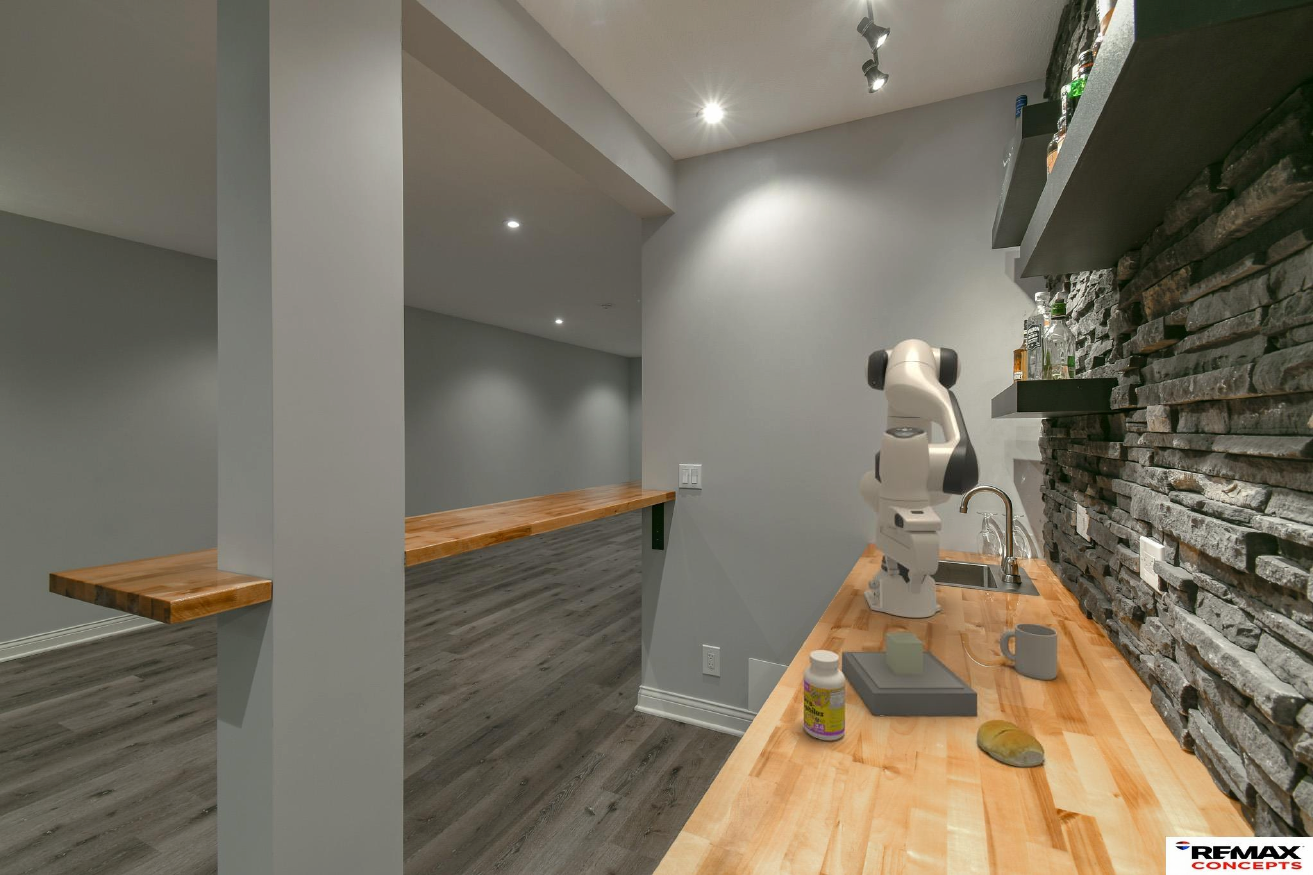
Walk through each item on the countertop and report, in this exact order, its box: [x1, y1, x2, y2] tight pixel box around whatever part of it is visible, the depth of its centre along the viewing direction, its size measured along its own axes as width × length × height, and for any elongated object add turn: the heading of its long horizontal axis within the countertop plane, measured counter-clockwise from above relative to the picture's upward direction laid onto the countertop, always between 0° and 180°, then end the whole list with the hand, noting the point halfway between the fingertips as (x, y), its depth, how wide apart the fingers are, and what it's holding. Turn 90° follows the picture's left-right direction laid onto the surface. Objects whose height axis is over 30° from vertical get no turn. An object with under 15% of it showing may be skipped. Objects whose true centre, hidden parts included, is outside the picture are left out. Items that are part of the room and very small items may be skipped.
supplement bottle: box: [803, 649, 846, 742], centre depth 94 cm, size 7×7×13 cm
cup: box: [999, 622, 1058, 681], centre depth 116 cm, size 7×10×9 cm
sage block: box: [885, 632, 924, 675], centre depth 108 cm, size 5×5×6 cm
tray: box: [841, 651, 978, 717], centre depth 108 cm, size 18×18×4 cm
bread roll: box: [976, 719, 1045, 768], centre depth 89 cm, size 8×9×4 cm
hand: (903, 585), depth 108 cm, fingers open, 8 cm apart
